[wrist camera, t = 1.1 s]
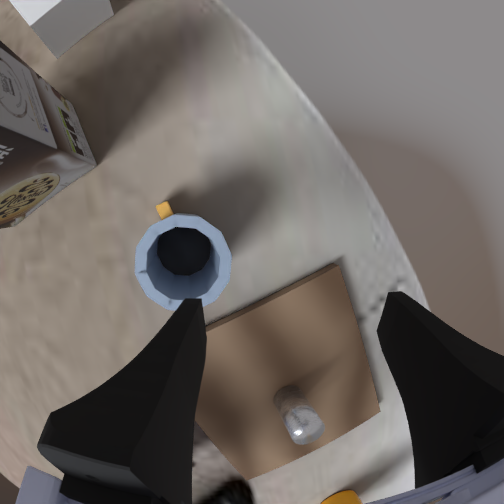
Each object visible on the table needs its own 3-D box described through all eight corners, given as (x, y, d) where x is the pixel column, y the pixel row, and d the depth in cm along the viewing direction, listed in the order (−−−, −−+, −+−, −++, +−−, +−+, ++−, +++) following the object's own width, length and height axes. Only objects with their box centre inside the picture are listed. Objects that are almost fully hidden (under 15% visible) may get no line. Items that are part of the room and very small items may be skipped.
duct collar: (168, 294, 21) (162, 325, 15) (132, 219, 20) (111, 224, 14) (230, 265, 22) (246, 286, 16) (195, 188, 20) (198, 181, 15)
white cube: (57, 59, 16) (29, 26, 11) (33, 30, 15) (7, -1, 9) (114, 15, 17) (101, -27, 11) (84, -11, 15) (70, -48, 9)
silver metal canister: (279, 412, 24) (298, 449, 19) (268, 394, 23) (286, 431, 18) (305, 399, 24) (328, 433, 19) (296, 380, 23) (319, 414, 19)
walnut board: (244, 474, 25) (246, 480, 24) (151, 351, 21) (149, 357, 20) (375, 406, 27) (380, 411, 26) (333, 263, 24) (338, 265, 23)
